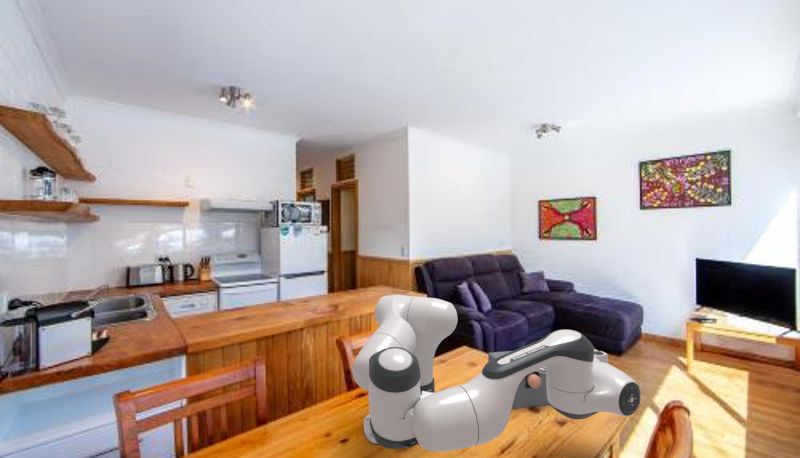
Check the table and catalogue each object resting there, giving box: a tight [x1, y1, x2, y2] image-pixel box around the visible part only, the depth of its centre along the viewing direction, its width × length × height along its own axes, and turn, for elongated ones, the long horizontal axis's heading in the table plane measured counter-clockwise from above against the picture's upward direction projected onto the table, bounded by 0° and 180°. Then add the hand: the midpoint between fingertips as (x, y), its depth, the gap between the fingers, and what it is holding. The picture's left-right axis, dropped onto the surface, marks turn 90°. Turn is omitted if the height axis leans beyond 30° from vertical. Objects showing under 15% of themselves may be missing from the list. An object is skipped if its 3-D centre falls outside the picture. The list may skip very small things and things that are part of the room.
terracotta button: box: [526, 373, 541, 389], centre depth 115 cm, size 4×2×4 cm, turn 102°
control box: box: [487, 350, 551, 410], centre depth 120 cm, size 24×8×16 cm, turn 102°
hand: (545, 348), depth 101 cm, fingers closed
